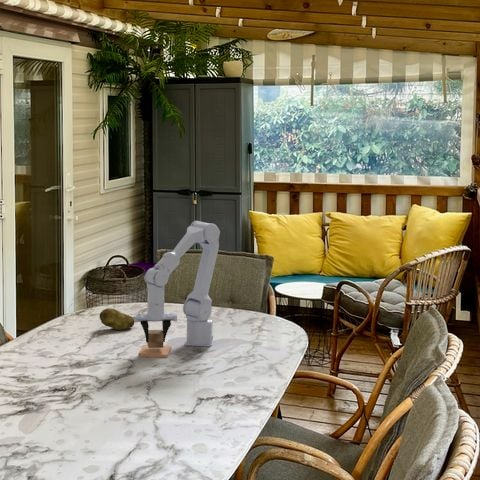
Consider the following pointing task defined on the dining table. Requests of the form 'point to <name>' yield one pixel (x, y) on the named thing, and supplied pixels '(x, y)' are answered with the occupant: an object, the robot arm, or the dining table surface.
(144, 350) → the terracotta tile
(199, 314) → the robot arm
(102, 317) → the olive green oval piece
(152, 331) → the walnut cube
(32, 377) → the dining table surface
